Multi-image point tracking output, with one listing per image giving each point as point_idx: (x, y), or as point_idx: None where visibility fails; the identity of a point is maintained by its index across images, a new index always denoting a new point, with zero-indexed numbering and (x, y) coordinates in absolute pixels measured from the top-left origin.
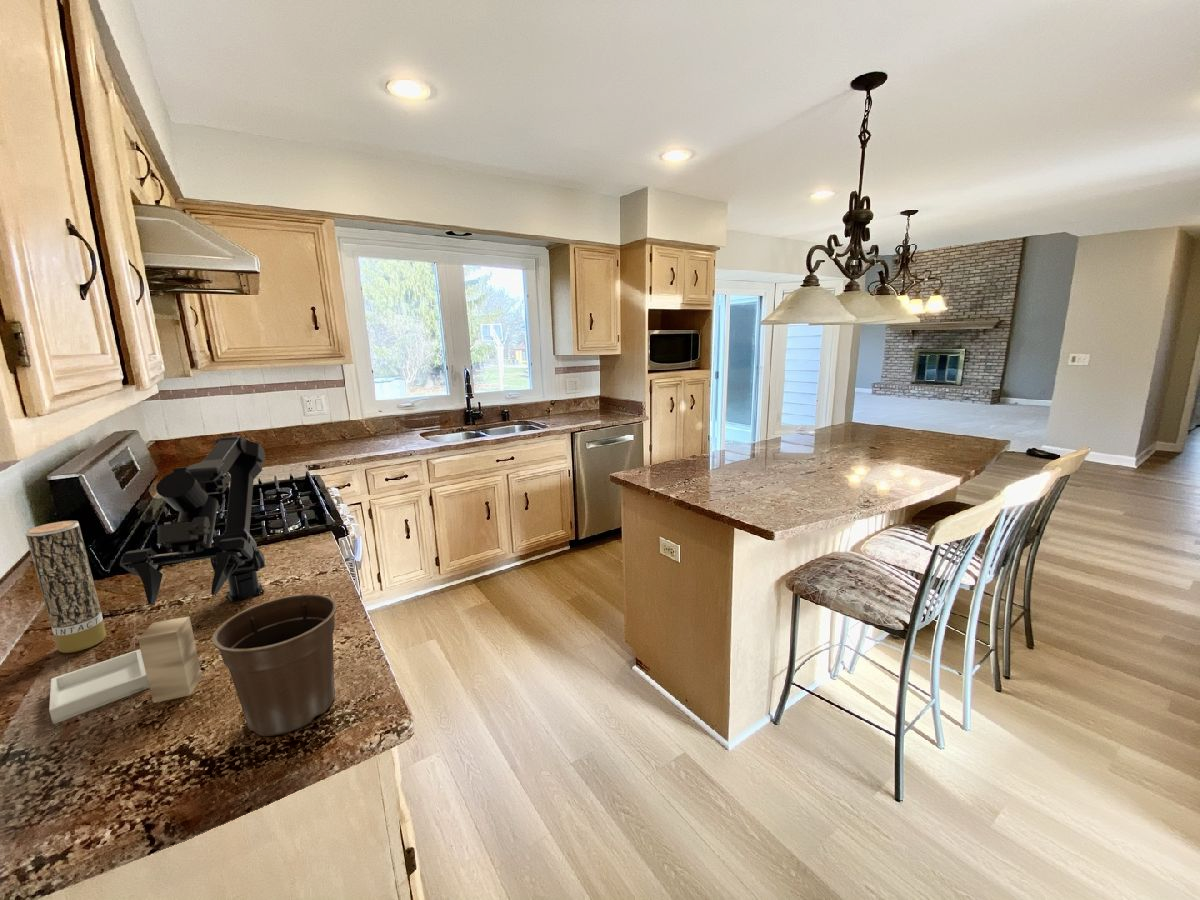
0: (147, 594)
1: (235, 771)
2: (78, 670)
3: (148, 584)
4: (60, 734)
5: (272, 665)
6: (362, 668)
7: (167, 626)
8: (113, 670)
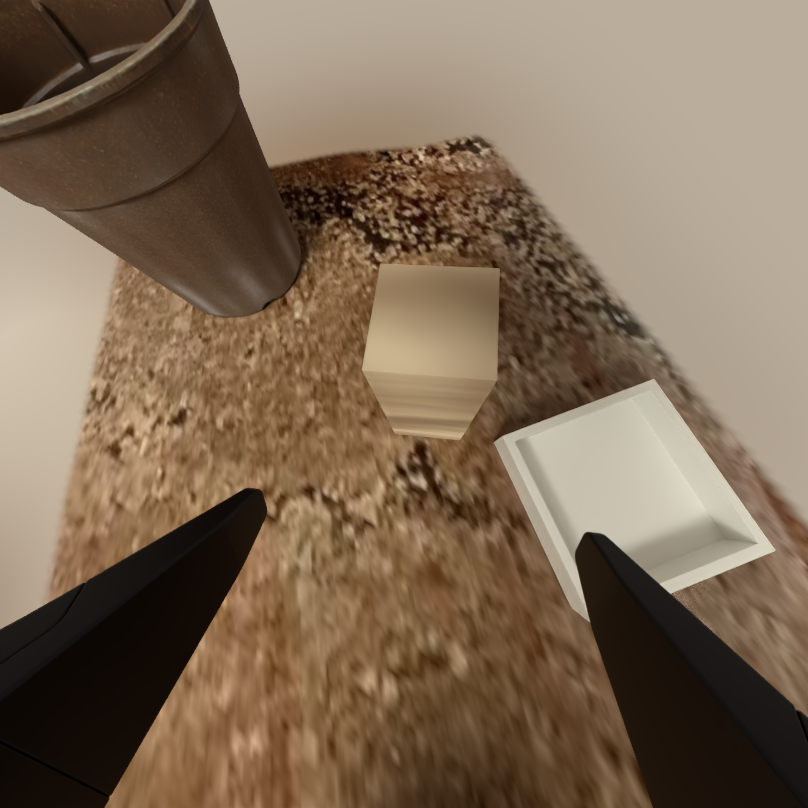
0: (661, 594)
1: (312, 188)
2: (720, 565)
3: (757, 712)
4: (592, 353)
5: (149, 29)
6: (131, 322)
7: (423, 315)
8: None
